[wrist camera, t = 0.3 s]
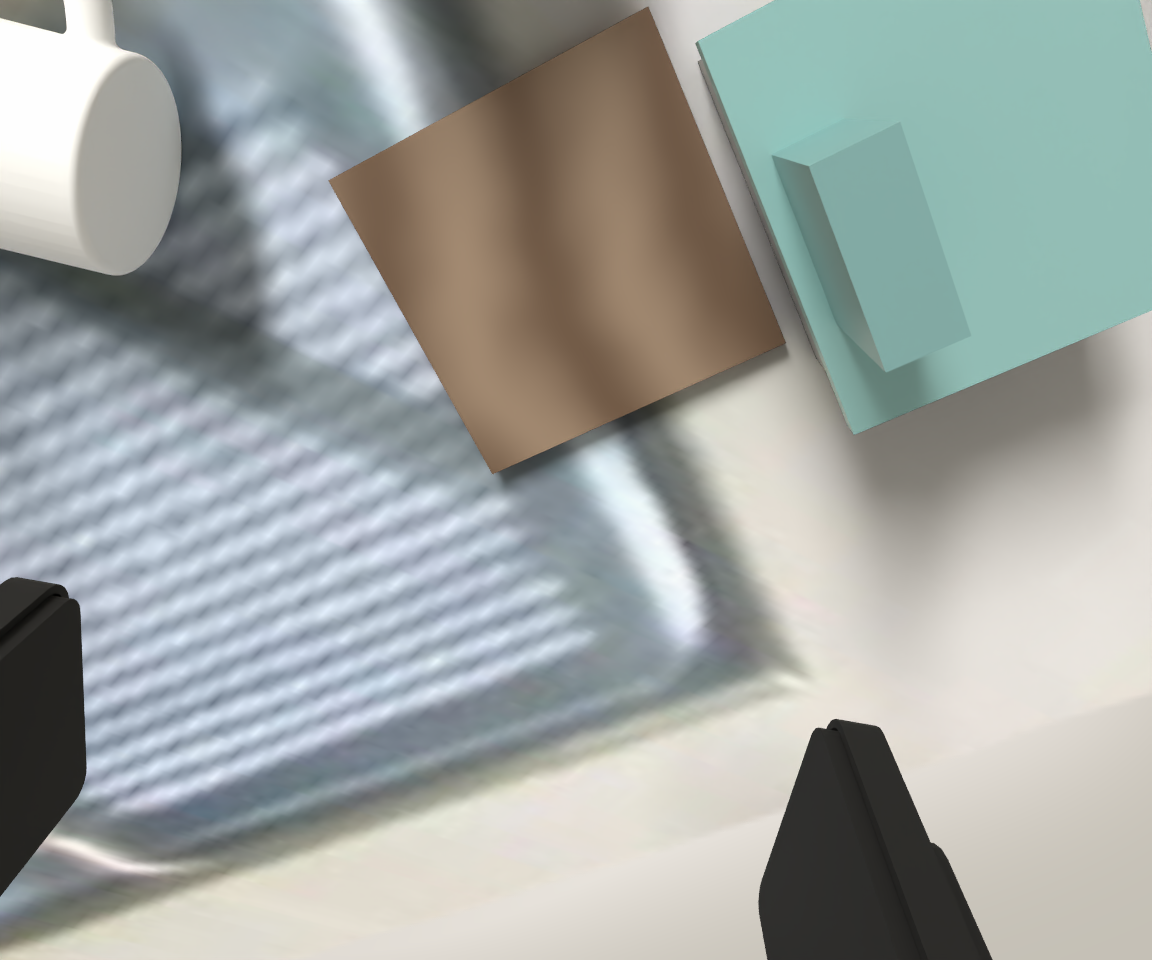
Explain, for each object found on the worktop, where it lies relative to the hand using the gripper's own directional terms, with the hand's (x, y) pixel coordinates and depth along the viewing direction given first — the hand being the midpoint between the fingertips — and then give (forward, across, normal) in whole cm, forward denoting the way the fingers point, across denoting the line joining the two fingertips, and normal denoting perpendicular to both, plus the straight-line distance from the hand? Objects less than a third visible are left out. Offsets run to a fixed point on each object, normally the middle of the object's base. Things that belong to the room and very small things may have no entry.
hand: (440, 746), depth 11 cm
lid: (+23, -12, -8) cm, 27 cm away
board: (+29, 0, -2) cm, 29 cm away
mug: (+30, +21, -5) cm, 37 cm away
